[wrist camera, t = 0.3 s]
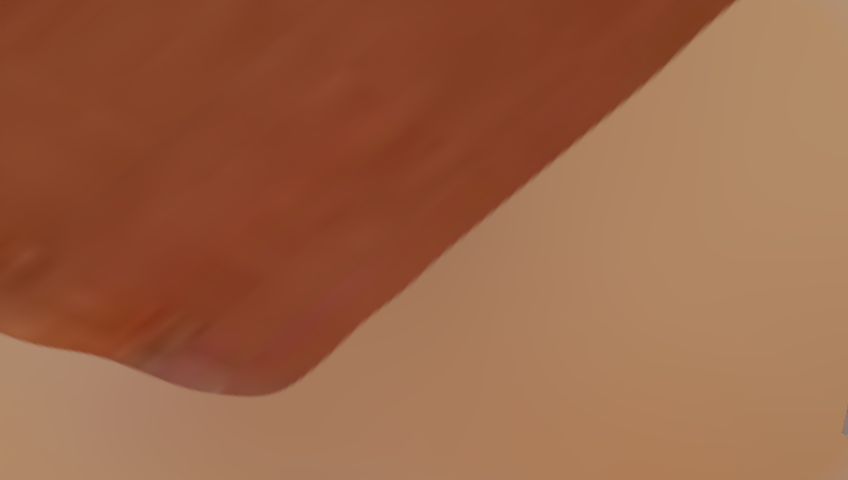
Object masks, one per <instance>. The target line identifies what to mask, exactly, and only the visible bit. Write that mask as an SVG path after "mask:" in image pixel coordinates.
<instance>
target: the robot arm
mask: <svg viewBox="0 0 848 480" xmlns="http://www.w3.org/2000/svg"><path fill="white" fill-rule="evenodd" d="M842 433H843V434H844V435H845V436H846V437H847V438H848V407H847V412H846V417H845V421H844V426H843V431H842Z"/></svg>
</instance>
